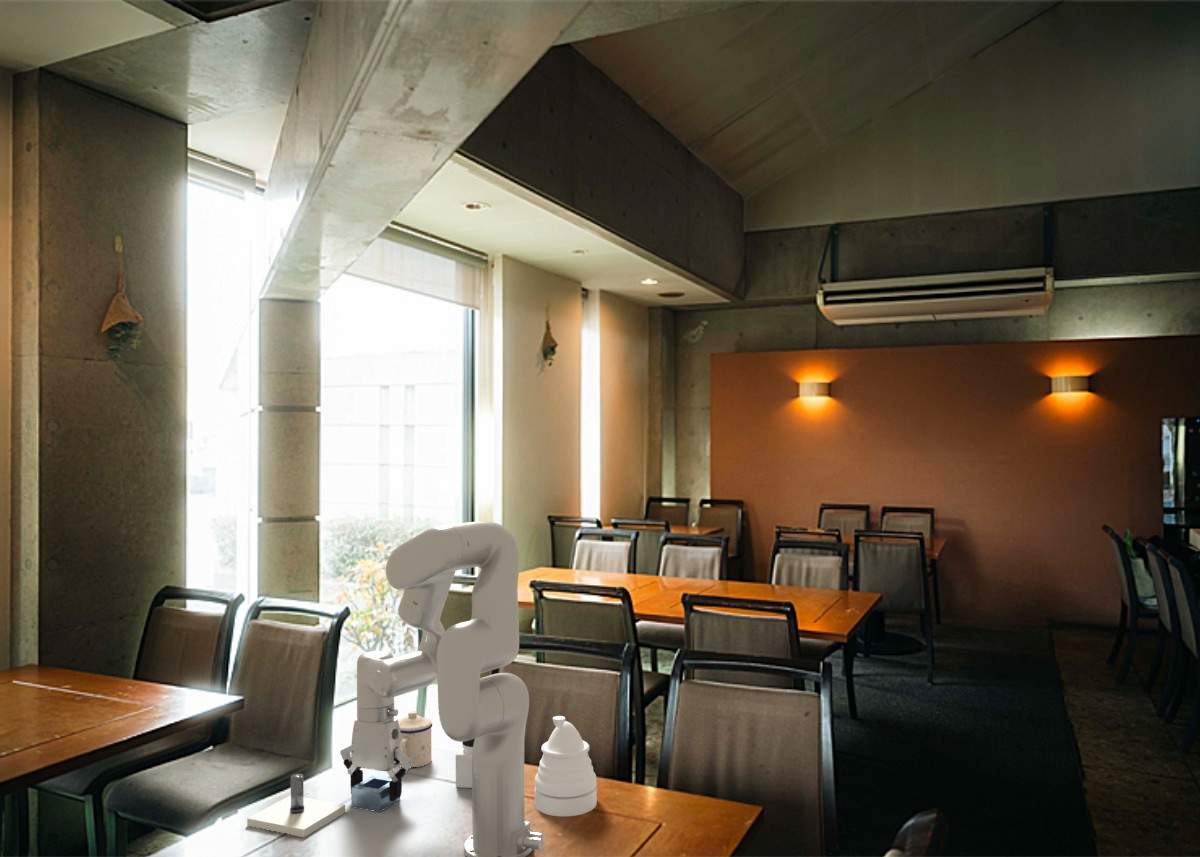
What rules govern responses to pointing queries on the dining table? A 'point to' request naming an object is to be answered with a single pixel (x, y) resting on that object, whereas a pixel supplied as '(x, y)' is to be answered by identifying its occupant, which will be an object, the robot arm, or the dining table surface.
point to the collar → (372, 794)
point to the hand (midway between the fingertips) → (375, 795)
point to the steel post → (297, 794)
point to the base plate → (296, 816)
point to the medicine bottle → (464, 765)
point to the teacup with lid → (416, 738)
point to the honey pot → (565, 774)
